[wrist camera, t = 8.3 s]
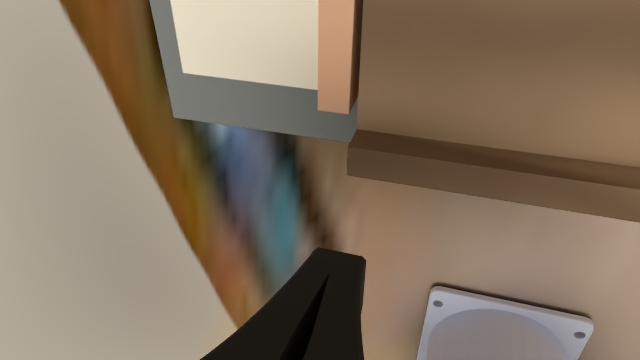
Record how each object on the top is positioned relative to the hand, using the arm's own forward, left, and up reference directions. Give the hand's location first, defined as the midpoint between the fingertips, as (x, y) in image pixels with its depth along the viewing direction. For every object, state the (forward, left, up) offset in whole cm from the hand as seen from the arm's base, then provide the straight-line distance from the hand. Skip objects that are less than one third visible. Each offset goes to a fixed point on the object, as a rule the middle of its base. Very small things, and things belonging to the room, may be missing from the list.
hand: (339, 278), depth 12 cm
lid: (+5, +5, -9) cm, 12 cm away
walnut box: (+5, -4, -9) cm, 11 cm away
